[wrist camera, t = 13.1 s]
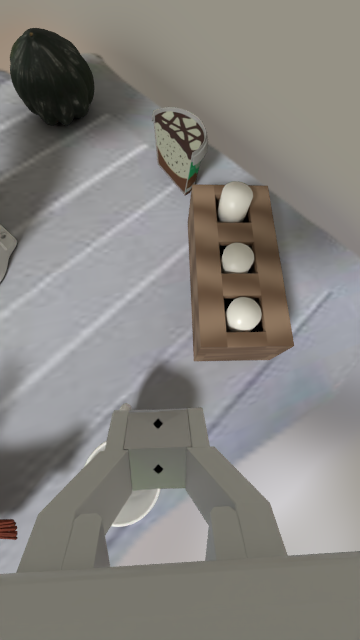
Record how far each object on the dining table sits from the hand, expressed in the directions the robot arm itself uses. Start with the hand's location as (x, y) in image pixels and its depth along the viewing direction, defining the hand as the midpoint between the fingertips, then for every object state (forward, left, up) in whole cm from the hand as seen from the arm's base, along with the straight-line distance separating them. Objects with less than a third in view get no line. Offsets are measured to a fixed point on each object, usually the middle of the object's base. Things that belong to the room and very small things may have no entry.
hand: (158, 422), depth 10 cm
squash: (-63, +19, -33) cm, 74 cm away
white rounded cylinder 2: (-11, +21, -29) cm, 38 cm away
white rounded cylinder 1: (-18, +26, -26) cm, 41 cm away
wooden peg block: (-11, +21, -33) cm, 41 cm away
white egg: (-4, +16, -29) cm, 33 cm away
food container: (-35, +30, -33) cm, 57 cm away
